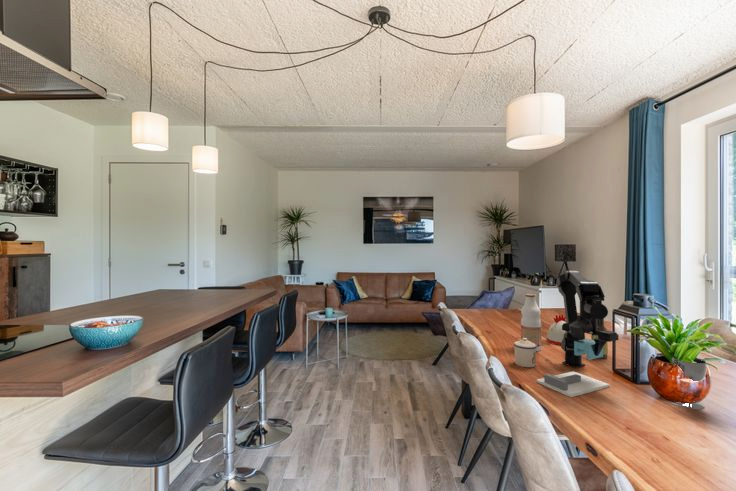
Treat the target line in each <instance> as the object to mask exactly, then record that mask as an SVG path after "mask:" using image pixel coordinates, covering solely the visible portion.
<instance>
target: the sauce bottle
mask: <svg viewBox="0 0 736 491" xmlns="http://www.w3.org/2000/svg"><path fill="white" fill-rule="evenodd" d="M604 321H605V318H603V319H598V320H597V327H599V330H597V331H606V330H607V328H606V326H605V323H604ZM607 331H608V330H607ZM590 335H591V336H590V337H591V338H590V339H591V340H593V339H596V338H597V336H596V335H592V334H590ZM608 352H609V351H608V342H606V344H605V345H604V346H603V357H600V358H599V359H601V358H604V359H603V360H605V359H608V354H609V353H608Z"/></svg>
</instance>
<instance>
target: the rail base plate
mask: <svg viewBox="0 0 736 491" xmlns="http://www.w3.org/2000/svg"><path fill="white" fill-rule="evenodd" d="M543 376H544V377H542V378H537V379H536V383H538V384H540V385H542V386H544V387H546V388H549V389H551V390H554V391H556V392H558V393H560V394H563V395H565V396H567V397H569V398H573V397H578V396H581V395H585V394H589V393H593V392H596V391H600V390H604V389H607V388H610V383H608V382H607V383H606V382H604V381H601V380H598V379H596V378H593V377H590V376H588V375H585V374H582V373H579V372H576V371H568V372H564V373H560V374H556V375H554V374H550V373H544V374H543Z"/></svg>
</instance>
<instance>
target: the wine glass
mask: <svg viewBox="0 0 736 491" xmlns="http://www.w3.org/2000/svg"><path fill="white" fill-rule="evenodd" d="M701 360H702V361H701ZM695 361H696V362H697V363H691V362H685V361H681V360H678V359H675V358H674V357H673V356H672V364H673V363H674V364H676V365H677V366H679V367H680V368H681V369H682V371H683V372H684V373H685V375H686V376H687V377H689V378H690V379H692V380H693V381H700V382H702V380H703V379H704V378H705V375H706V372H707V362H706V360H704V359H702V358H698V357H695ZM675 403H676V404H678V405H679V406H682V407H683V408H688V409H693V410H700V411H701V410H705V408H706V407H705V405H703V404H701V403H698V402H696V403H681V402H675Z"/></svg>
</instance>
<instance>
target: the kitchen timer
mask: <svg viewBox="0 0 736 491" xmlns="http://www.w3.org/2000/svg"><path fill="white" fill-rule="evenodd" d="M553 320H554V322H553V323H552V324H551V325H550V327H548V332H547V334H546V341H547V342H548V343H550V344H552V343H553V345H556V344H557V345H558V346H561V342H562V340H563V338H564V333H565V331H564V330H562V325H563V324H564V323H566V316H564V314H559V315H555V317H553Z"/></svg>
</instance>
